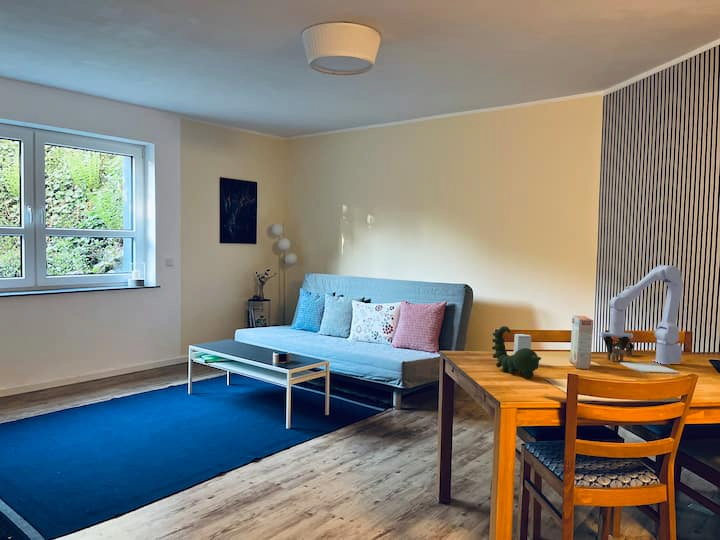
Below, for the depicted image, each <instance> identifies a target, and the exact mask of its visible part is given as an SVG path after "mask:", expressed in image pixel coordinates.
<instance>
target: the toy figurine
mask: <svg viewBox="0 0 720 540" xmlns="http://www.w3.org/2000/svg"><path fill="white" fill-rule="evenodd" d="M506 332H507V333H508V334H510V333H511V329H510V328H509V327H508V326H507V325H506V326H505V325H504V326H501V327H499V328H498V330H496V331H494V332H493V333H492V336H493V337H494V338H493V339H492V340H491V341H492V342H493V343H494V344H495V345H493V346H492V347H491V348H492V350H493V351H495V353H494V354H492V358H493V359H497V363H495V366H496V367H497V368H501V367H502V368H501V371H502V373H506V372H508V373H509V374H511V375H513V374H515V373H518V372H519V373H521V374H522V376H523V378H525V379H531V378H533V376H534V371H536V370H538V369H539V365H540V360H542V357H541V356H538V354H537V353H536V352H535V350H533V349H532V348H531V349H528V348H523V349H520V350H518V351H517V352H516V353H515V354H514V353H513V354H511V355H509V354H508V351H507V350H506V345H505V338H504V333H506Z"/></svg>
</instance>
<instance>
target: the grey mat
mask: <svg viewBox="0 0 720 540" xmlns="http://www.w3.org/2000/svg"><path fill="white" fill-rule="evenodd" d="M619 364H620V365H622V366H624V367H626V368H629V369H632V370H634V371H637V372H639V373H647V374H649V373H650V372H662V373H661V374H680V371H677V370H675V369H672V368H669V367H667V366H663V365H662V364H660V363H657V362H620V361H619ZM674 372H675V373H674Z"/></svg>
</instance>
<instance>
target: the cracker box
mask: <svg viewBox="0 0 720 540" xmlns="http://www.w3.org/2000/svg"><path fill="white" fill-rule="evenodd" d="M593 332H594V320H593V319H591V318H590V317H588V316H585V315H572V319H571V334H570V335H571V338H570V339H571V340H570V352H569V363H570V364H571V365H573V366H574V367H575V368H576V369H579V370H591V365H592V364H591V362H592V348H593Z"/></svg>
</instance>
